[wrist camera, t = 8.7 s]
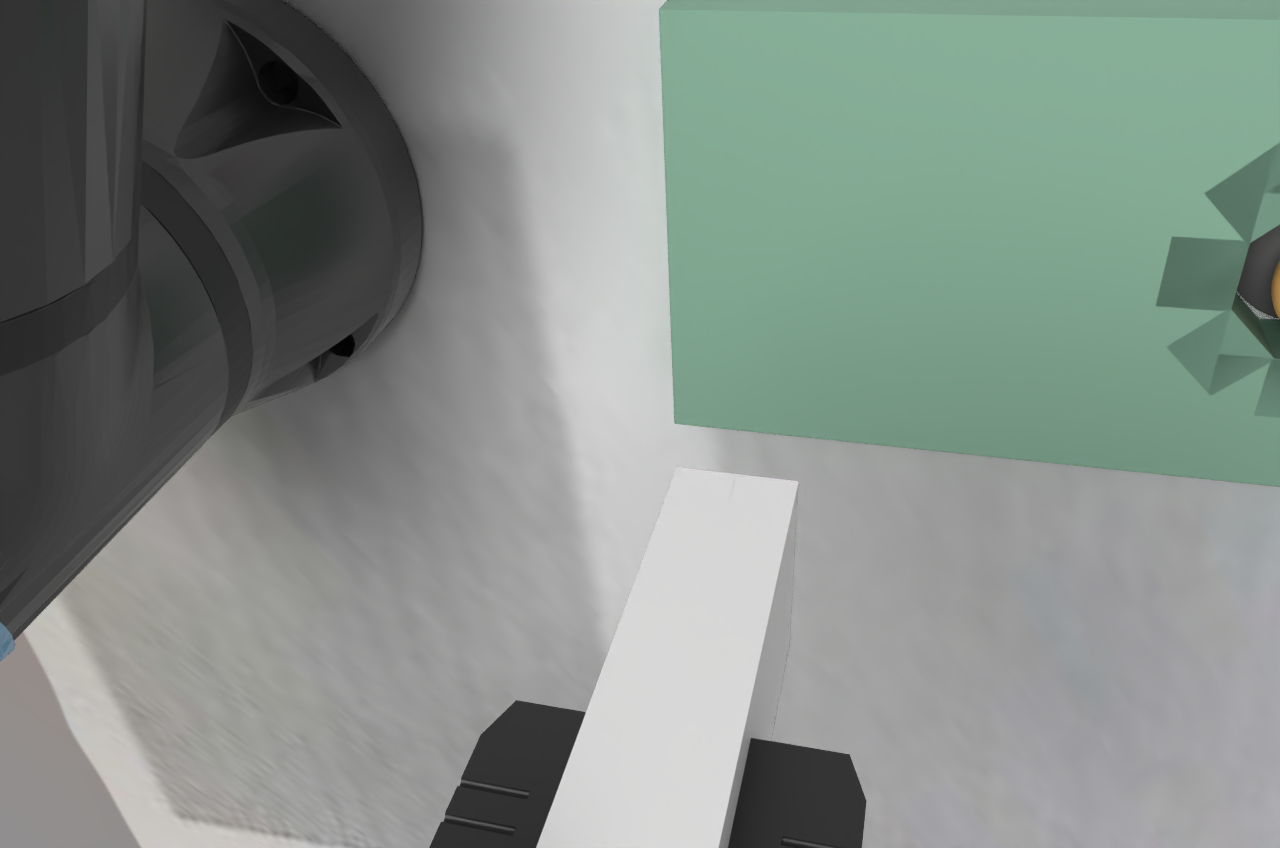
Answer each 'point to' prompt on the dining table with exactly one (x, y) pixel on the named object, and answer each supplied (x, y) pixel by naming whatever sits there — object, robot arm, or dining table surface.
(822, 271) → the mini golf green
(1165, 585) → the dining table surface
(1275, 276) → the ball
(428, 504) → the dining table surface
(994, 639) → the dining table surface
